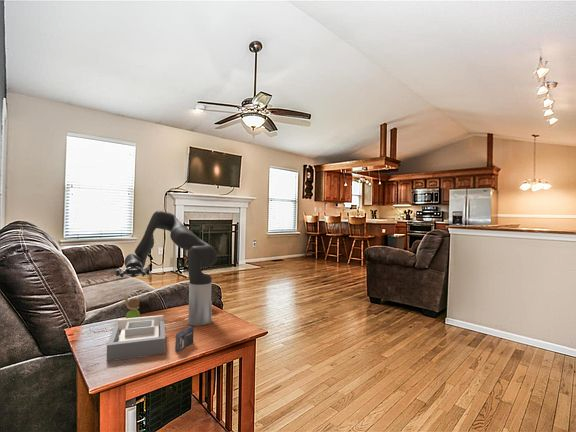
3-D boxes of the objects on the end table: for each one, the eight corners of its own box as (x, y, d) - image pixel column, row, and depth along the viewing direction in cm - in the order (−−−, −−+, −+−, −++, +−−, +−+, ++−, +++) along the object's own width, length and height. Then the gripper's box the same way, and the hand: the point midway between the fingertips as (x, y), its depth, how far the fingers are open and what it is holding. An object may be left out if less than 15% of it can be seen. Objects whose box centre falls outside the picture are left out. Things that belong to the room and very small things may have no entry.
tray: (162, 324, 129) (163, 314, 129) (163, 340, 113) (164, 329, 113) (117, 329, 122) (118, 319, 122) (111, 346, 106) (112, 334, 106)
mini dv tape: (179, 352, 104) (179, 334, 104) (175, 351, 105) (175, 334, 105) (193, 343, 112) (193, 326, 112) (189, 342, 113) (190, 326, 113)
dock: (163, 333, 120) (164, 321, 120) (164, 353, 103) (165, 338, 103) (114, 339, 113) (114, 326, 113) (106, 361, 97) (106, 345, 97)
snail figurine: (126, 320, 134) (127, 292, 134) (141, 320, 134) (142, 292, 134) (120, 324, 129) (121, 295, 129) (136, 324, 129) (137, 295, 129)
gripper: (118, 260, 152) (115, 267, 138) (149, 260, 158) (150, 266, 144) (117, 275, 153) (114, 283, 138) (149, 274, 159) (149, 282, 144)
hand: (132, 274), depth 141 cm, fingers open, 8 cm apart
